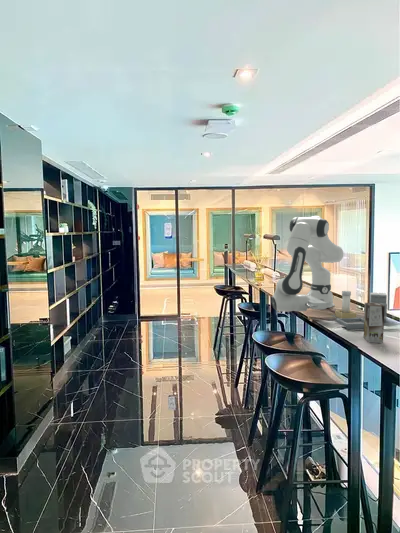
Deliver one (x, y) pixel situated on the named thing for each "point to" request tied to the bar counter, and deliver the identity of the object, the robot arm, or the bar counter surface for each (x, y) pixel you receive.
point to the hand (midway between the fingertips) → (327, 302)
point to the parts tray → (351, 325)
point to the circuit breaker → (379, 300)
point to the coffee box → (374, 322)
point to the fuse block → (344, 314)
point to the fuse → (346, 301)
